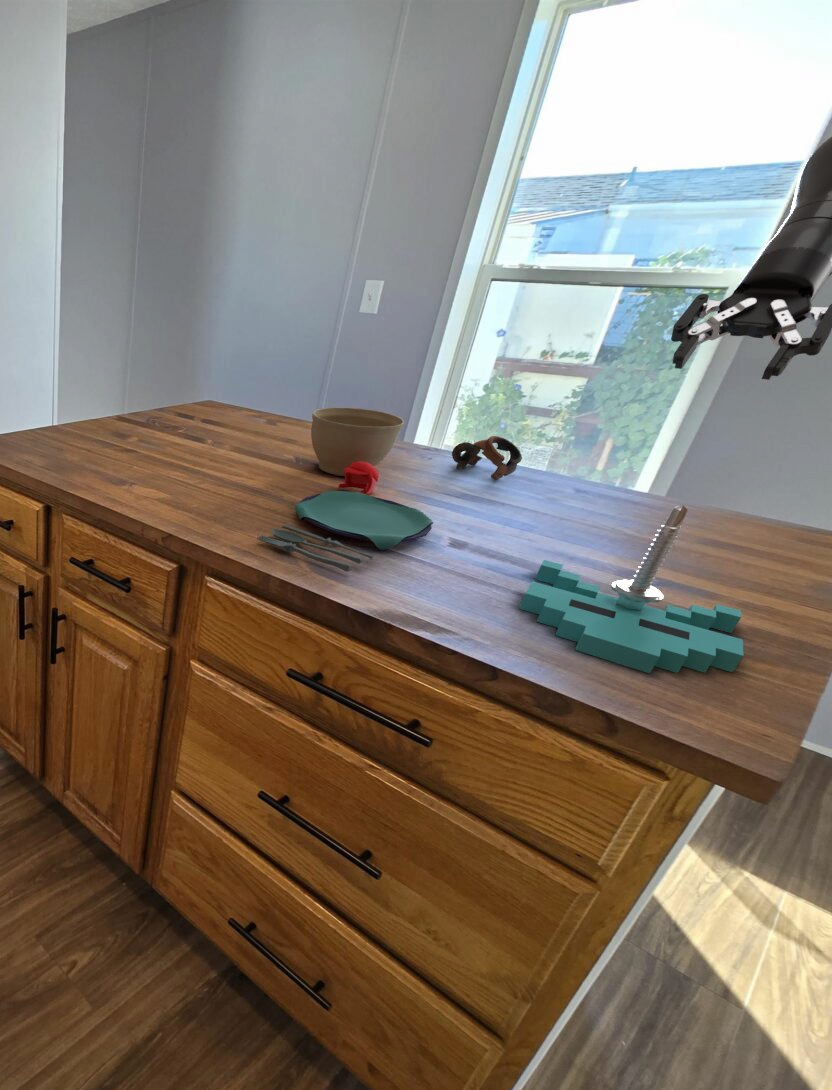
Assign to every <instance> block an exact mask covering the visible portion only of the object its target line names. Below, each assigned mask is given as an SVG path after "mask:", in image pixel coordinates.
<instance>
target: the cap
mask: <svg viewBox="0 0 832 1090" xmlns="http://www.w3.org/2000/svg"><path fill="white" fill-rule="evenodd" d="M344 471H345V476H344V482H343V483H339V484H338V489H346V488H353V489H354V488H355V489H360V491H358V492H359V493H363V494H366V495H368V496H371V495H372V494H373V492H374V489H375V487H376V485H377V483H378V481H379V479H380V474H379V472H378V469H377V468H376V466H375V467H374V466H372V465H371V464H369V463H367V462H361V461H359V462H353V463H352V464H351V465H349V467H347V468H345V469H344Z"/></svg>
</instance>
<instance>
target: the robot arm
mask: <svg viewBox="0 0 832 1090" xmlns="http://www.w3.org/2000/svg"><path fill="white" fill-rule="evenodd" d="M830 276H832V135H831V136H830V137H828V138H827V139H826V140H825V141H823V142H822V143H821V144H820V145H819V146H818V147H817V148H816V149H815V150H814V151H813V153H812V154H811V155H810V156H809V158H808V159H807V161H806V162H805V164H804V165H803V168H802V170H801V172H800V174H799V177H798V180H797V184H796V188H795V191H794V197H793V201H792V205H791V209H790V213H789V215H788V216H787V218H786V219H785V220H784V222H783V224H782V225H781V226H780V228H779V229H778V231H777V232H776V234H775V235H774V236H773V237H772V239H770V241H768V243H767V244H766V245H765V246H764V248H763V249H762V250H761V251H760V253H759V254H758V255H757V257H756V258H755V260H754V262H753V263H752V264H751V266H750V267H749V269H748V270H747V272H746V273H745V275H744V276H743V277H742V279H741V280H740V282H739V283H738V285H737V286H736V288H735V289H734V291H733V292H732V293H731V294H730V295H729V296H728V297H726V298H725V299H723V300H717V299H709V297H710V296H709V295H708V293H701V294H697V296H696V297H695V298H694V300H692V302H691V303H690V304H689V306H688V307H687V308H686V309H685V311H684V312H683V313H682V315H681V316H680V317H679V318H678V319H677V321H676V322H675V323H674V325H673V327H672V332H671V337H670V340H671V342H674V343H677V342H681V343H680V344H679V345H678V347H677V348H676V350H675V351H674V352H673V357H672V364H674V369H678V370H679V369H680V370H683V368H684V367H685V365H686V364H687V362H688V361H689V359H690V358H691V357H692V355H693V354H694V352H695V350H696V349H697V347H698V345H701V344H703V343H705V342H707V341H715V340H717V339H719V338H721V337H723V336H725V335H728V334H730V335H729V336H730V337H750V338H754V339H763V338H764V337H769V338H770V340H771V342H772V344H773V345H774V347H777V348H778V350H777V351H775V352H776V353H775V354H774V355H773V357H772V358H771V360H770V361H769V363H768V364H767V366H766V367H765V369H764V371H763V374H762V377H761V380H767V381H770V380H771V378H772V377H779V376H780V375H782V374H783V372H784V371H785V370H786V368H787V366H788V365H789V364H790V362H791V361H792V359H793V358H794V357H796V356H798V355H804V354H805V355H807V356H810V357H811V356H817V355H819V354H820V352H821V351H822V349H823V347H824V345H825V344H826V342H827V340H828V338H829V337H830V335H831V334H832V303H830V305H828V306H813V305H812V302H813V301H814V300H815V298H816V297H817V295H818V294H819V292H820V290H821V289H822V288H823V286H824V285H825V283H826V282H827V281H828V279H829V278H830ZM714 312H717V313H716V314H714V315H712V316H711V317H709V318H708V319H707V320H706V321H704V322H702V323H700V324H698V325H696V326H694V325H695V324H696V323H697V322H698V321H699V319H704V318H705V317H706V316H708V315H709V314H711V313H714ZM807 319H809V320H810V319H811V325H813V326H814V328H815V330H814V332H813V334H812V336H810V337H802V336H801V334H800V332H799V330H798V329H797V324H799V323H801V322H804V321H805V320H807ZM693 326H694V327H693Z"/></svg>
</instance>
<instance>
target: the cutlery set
mask: <svg viewBox="0 0 832 1090" xmlns="http://www.w3.org/2000/svg"><path fill="white" fill-rule="evenodd" d="M359 492H360V491H346V490H345V491H343V490H334V491H333V490H326V491H323V492H322V493H318V494H313V495H309V496H306V497H304V498H303V499H301V500H300V501H299V502H298V503H296V504H295V505H294V511H295V513H296V514H297V516H298V518H299V519H300V521H305V520H306V521H308V522H310V523H311V524H313V525H314V526H316V527H318V528H321V529H323V530H325V531H328V532H329V533H333V534H337V535H340V536H344V537H347V538H352V539H359V540H365V541H371V542H372V543H374V544H375V546H376V547H377V549H378V550H380V551H384V550H385V551H386V550H388V549H390V548H393V547H396V546H397V545H398V544H399V543H400V542H408V541H414V540H417V539H420V538H423V537H426V536H427V535H428V534H429V533H430V532H431V531H432V529H433V527H432V525H433V524H434V521H433V520H432V519H431V518H429V516H427V514H425V513H424V512H423V511H422V510H420V509H417V508H415V507H410V506H407V505H404V504H402V503H398V502H395V501H392V500H390V499H384V498H381V497H376V496H371V495H366V494H363V493H359ZM281 528H282V529H279V528H272V529H269V531H270V532H271V534H273V536H274V537H275V538H276V539H274V538H270V537H268V536H265V535H263V534H261V535H260V536H257V537H256V539H257V540H259V541H260V542H262V543H265V544H268V545H270V546H273V547H275V548H277V549H279V550H282V551H284V552H287V553H292V552H296V553H298V554H301V555H303V556H305V557H306V558H309V559H311V560H314V561H316V562H319V563H322V564H325V565H329V566H332V567H335V568H338V569H340V570H342V571H344V572H347V573H348V572H350V571H351V570H352V567H353V566H352V564H350V563H346V562H342V561H340V560H337V559H332V558H328V557H325V556H321V555H318V554H316V553H312V552H310V551H308V550H305V549H303V548H301V547H299V546H297V545H304V546H308V547H311V548H314V549H318V550H320V551H323V552H327V553H331V554H333V555H336V556H339V557H341V558H344V559H347V560H349V561H351V562H354V563H356V564H359V565H360V564H363V563H364V560H365V558H364V557H366V558H368V559H369V560H370V561H373V559H374V556H375V554H369V553H367V552H364V551H360V550H357V549H354V548H352V547H350V546H347V545H345V544H343V543H341V542H340V541H338V540H332V539H331V537H328V538H324V537H322V536H320V535H317V534H314V533H312V532H309V531H306V530H304V529H300V528H297V527H294V526H291V525H282V526H281ZM304 536H305V537H308V538H310V539H314V540H316V541H319V542H322V543H324V546H322V545H319V544H315V543H310V542H308V541H307V539H306V538H305V537H304ZM328 545H330V546H331V547H333V548H331V547H328ZM326 546H327V547H326ZM334 547H335V548H342V549H345V550H348V551H351V552H353V553H356V554H359V555H361V556H357V555H353V554H352V553H347V552H345V551H342V550H338V549H335V548H334ZM362 556H364V557H362Z"/></svg>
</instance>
